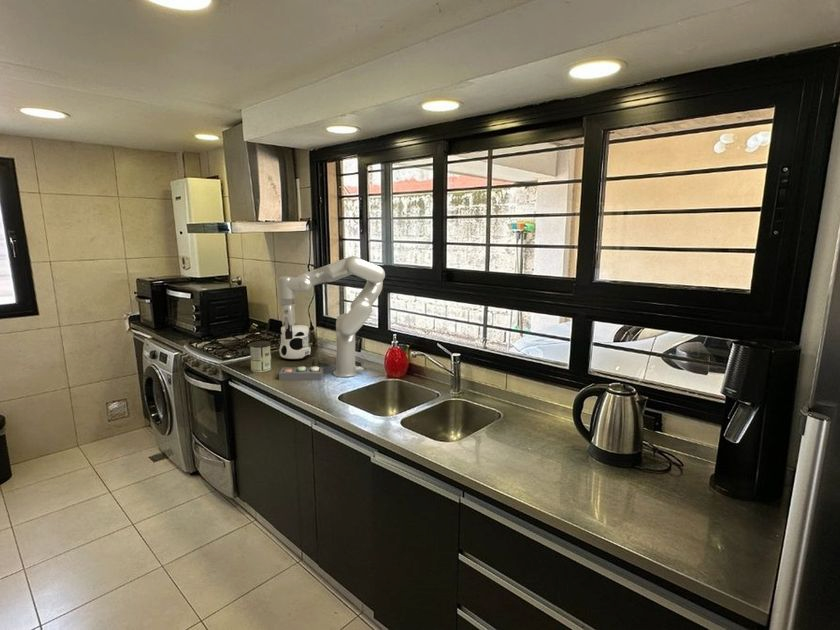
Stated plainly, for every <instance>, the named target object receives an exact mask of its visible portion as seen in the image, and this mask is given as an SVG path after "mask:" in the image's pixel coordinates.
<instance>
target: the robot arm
mask: <svg viewBox="0 0 840 630" xmlns="http://www.w3.org/2000/svg"><path fill="white" fill-rule="evenodd" d="M351 275H354V276H355V277H358V278H361V279H364V280H366V283H365V285H364V287H363V289H362V290H361V291H360V292H359V294H358V295H357V296H356V297H355V298H354V299H353V300H352V302H351V303H350V310H349V311H348V313H346V312H345V313H344V312H343V313H341V314H340V315H339V316H338V317H337V318H336V321H335V332H336V335H335V336H336V348H335V349H336V351H335V352H336V353H335V355H336V357H335V358H336V362H335V367H336V369H334V370H333V371H332V372H333V373H332V374H333V376H334V377H337V378H338V377H339V378H353V377H356V376H357V375H358V374H359V373H358V372H364V369H365V368H364V367H362V366H358V365H356V334H357V332H358V331H359V330H360V329H361V328H362V327H363V325H364V324H365V323H366V322H367V320H368V319H369V317H371V315H372V312H373V305H374V303H375V302H376V300H377V299H378V297H379V296H380V294H381V292H382V290H383V284H384V282H383V281H384V280H385V277H386V273H385V270H384V268H383V267H381V266H380V265H378V264H375V263H372V262H371V261H370V262H369V261H368V260H365V259H363V258H360V257H359V256H354V255H351V256H348V257H346V258H342V259H340V260H336V261H335V262H332V263H329V264H326V265H324V266H321V267H318V268H316V269H312V270H311V271H310V270H309V271H307V272H305V273H302V274H300V275H298V276H296V277H293V276H290V275H289V276H287V275H285V276H280V277H279V278H278V302H279V306H280V307H281V323H282V327H283V326H285V339H292V338H293V335H292V331H291V330H292V326H293V325H296V313H295V312H296V310H295V306H296V292H300V293H305V292H308V291H310V290H311V288H312V287H314V286H316V285H320V284H323V283H324V284H325V283H331V282H335V281H338V280H340V279H343V278H345V277H348V276H351Z"/></svg>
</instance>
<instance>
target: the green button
mask: <svg viewBox="0 0 840 630" xmlns="http://www.w3.org/2000/svg"><path fill="white" fill-rule="evenodd" d="M296 367H297V366H296ZM297 371H298V372H306V366H304V365H302V366H301V365H300V366H298V367H297Z"/></svg>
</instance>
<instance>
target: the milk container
mask: <svg viewBox="0 0 840 630" xmlns="http://www.w3.org/2000/svg"><path fill="white" fill-rule="evenodd" d="M291 331H292V335H293V338H292V339H285V326H283V325H282V326H281V327H280V345H279V350H278V351H279V356H280V357H281V358H282V359H284V360H290V361H298V360H304V359H307V358H308V357H309V356H310V355H311V350H312V349H311V344H310V328H309V326H308V325H304V324H294V325H293V326H292V330H291Z"/></svg>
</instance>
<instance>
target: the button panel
mask: <svg viewBox="0 0 840 630" xmlns="http://www.w3.org/2000/svg"><path fill="white" fill-rule="evenodd" d="M305 367H306V366H305ZM311 367H312V366H310V367H306V372H298V371H297V366H295V367H292V366H291V367H286V366H285V367H284V366H283V367H281V369H280V371H279V372H278V381H322V379H323V376H324V367H319V366H318V367H319V372H311ZM285 369H292V372H284V370H285Z"/></svg>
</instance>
